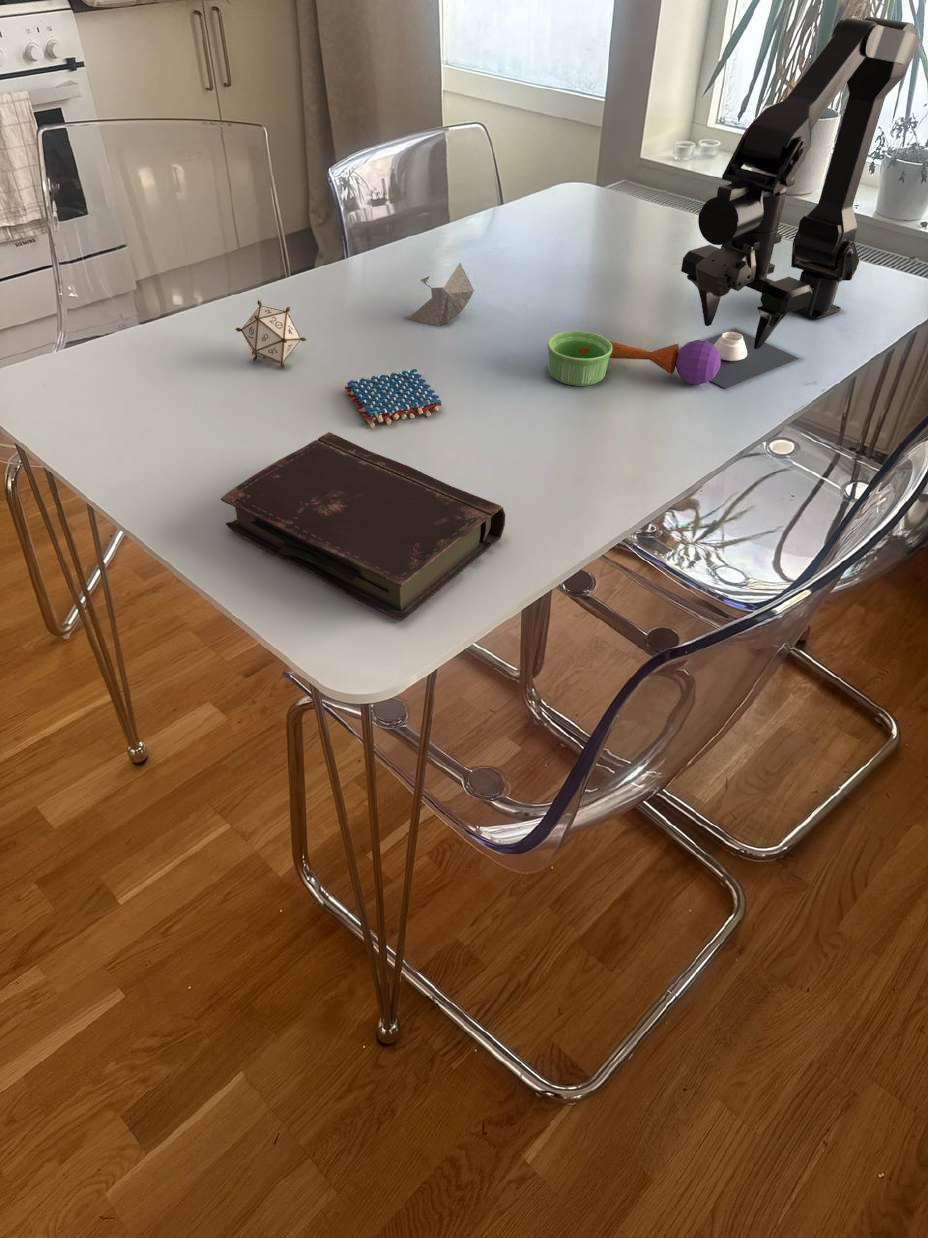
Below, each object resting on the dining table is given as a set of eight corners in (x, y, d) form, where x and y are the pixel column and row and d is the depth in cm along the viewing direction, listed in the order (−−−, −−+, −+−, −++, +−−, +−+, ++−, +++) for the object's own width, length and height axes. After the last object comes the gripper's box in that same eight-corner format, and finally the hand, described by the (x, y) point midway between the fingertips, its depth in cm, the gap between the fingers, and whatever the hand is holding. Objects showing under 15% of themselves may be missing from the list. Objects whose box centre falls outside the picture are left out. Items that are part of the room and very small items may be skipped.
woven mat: (342, 392, 127) (341, 379, 126) (415, 379, 130) (415, 365, 129) (367, 429, 120) (366, 415, 118) (443, 414, 123) (443, 400, 122)
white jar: (710, 346, 139) (711, 361, 135) (714, 327, 137) (715, 342, 133) (744, 349, 139) (746, 364, 135) (749, 330, 137) (751, 345, 133)
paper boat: (430, 328, 140) (388, 295, 143) (439, 350, 146) (399, 318, 149) (485, 271, 140) (442, 239, 143) (492, 295, 146) (451, 264, 149)
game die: (290, 381, 137) (327, 328, 132) (256, 385, 129) (295, 330, 125) (249, 338, 137) (285, 284, 133) (213, 340, 130) (250, 282, 125)
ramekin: (558, 354, 137) (561, 325, 134) (616, 367, 134) (621, 338, 131) (535, 379, 130) (537, 349, 127) (596, 394, 128) (600, 364, 125)
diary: (335, 462, 114) (332, 426, 110) (504, 537, 103) (506, 500, 100) (221, 535, 102) (213, 497, 99) (397, 628, 92) (395, 589, 88)
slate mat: (735, 329, 144) (735, 328, 144) (798, 358, 137) (798, 357, 137) (662, 356, 137) (662, 355, 137) (724, 388, 130) (725, 388, 129)
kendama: (589, 320, 136) (727, 338, 129) (585, 361, 139) (720, 381, 132) (576, 328, 131) (719, 348, 124) (572, 370, 134) (711, 392, 127)
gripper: (662, 217, 126) (646, 327, 137) (772, 260, 115) (744, 376, 126) (718, 202, 131) (698, 309, 142) (828, 242, 120) (797, 355, 131)
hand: (731, 336), depth 135 cm, fingers open, 9 cm apart
